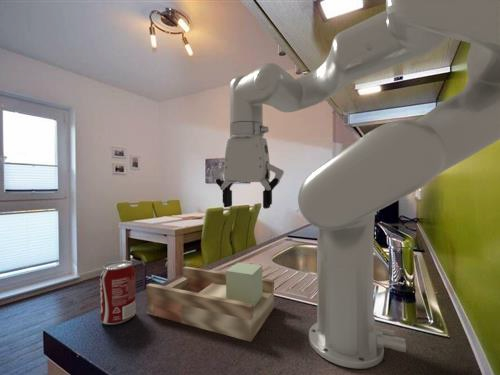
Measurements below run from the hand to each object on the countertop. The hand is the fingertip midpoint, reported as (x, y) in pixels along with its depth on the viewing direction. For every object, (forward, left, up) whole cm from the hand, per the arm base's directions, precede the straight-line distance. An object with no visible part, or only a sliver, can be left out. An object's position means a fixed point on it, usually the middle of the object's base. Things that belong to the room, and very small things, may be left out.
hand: (246, 207), depth 57 cm
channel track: (+8, +3, -24) cm, 25 cm away
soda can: (+25, +14, -24) cm, 37 cm away
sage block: (-1, +3, -20) cm, 20 cm away
